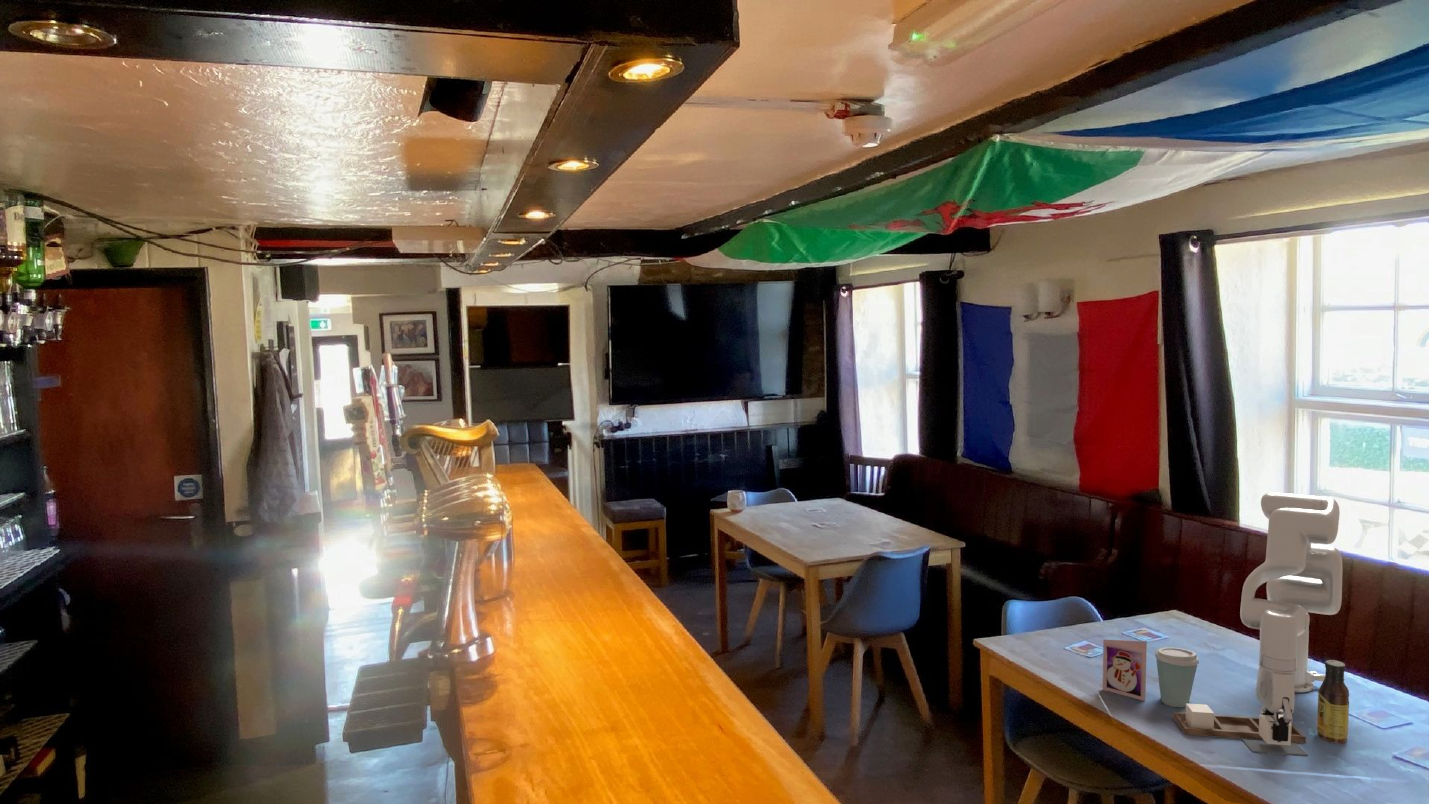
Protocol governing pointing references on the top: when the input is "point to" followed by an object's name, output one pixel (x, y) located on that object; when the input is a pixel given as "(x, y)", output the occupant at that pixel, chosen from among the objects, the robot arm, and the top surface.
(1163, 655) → the disposable coffee cup
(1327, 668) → the sauce bottle
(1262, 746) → the slate mat
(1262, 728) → the lettered cube
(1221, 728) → the organizer
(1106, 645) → the greeting card
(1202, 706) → the blank cube
